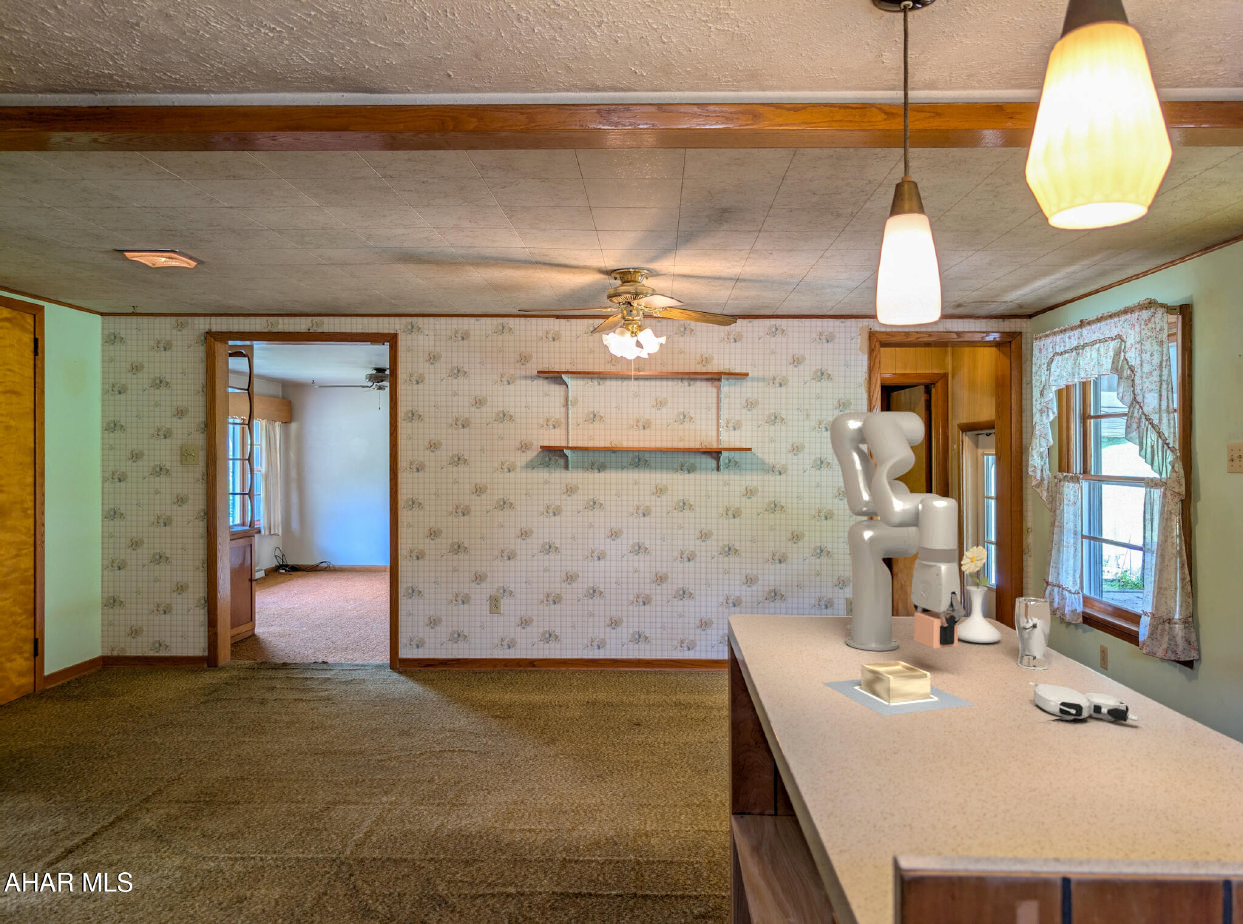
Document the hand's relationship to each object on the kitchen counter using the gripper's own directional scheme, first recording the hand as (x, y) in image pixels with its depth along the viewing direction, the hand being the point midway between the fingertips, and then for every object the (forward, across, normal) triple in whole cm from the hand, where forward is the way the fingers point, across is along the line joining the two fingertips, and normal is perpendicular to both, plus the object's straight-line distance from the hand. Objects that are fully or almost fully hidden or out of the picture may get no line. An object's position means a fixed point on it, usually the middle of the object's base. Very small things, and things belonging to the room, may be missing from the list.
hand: (935, 638), depth 154 cm
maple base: (+7, +8, -16) cm, 20 cm away
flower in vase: (+10, -24, +33) cm, 42 cm away
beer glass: (+9, -2, +28) cm, 29 cm away
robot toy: (+8, +26, +10) cm, 29 cm away
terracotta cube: (+1, 0, 0) cm, 1 cm away
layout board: (+8, +8, -16) cm, 20 cm away
